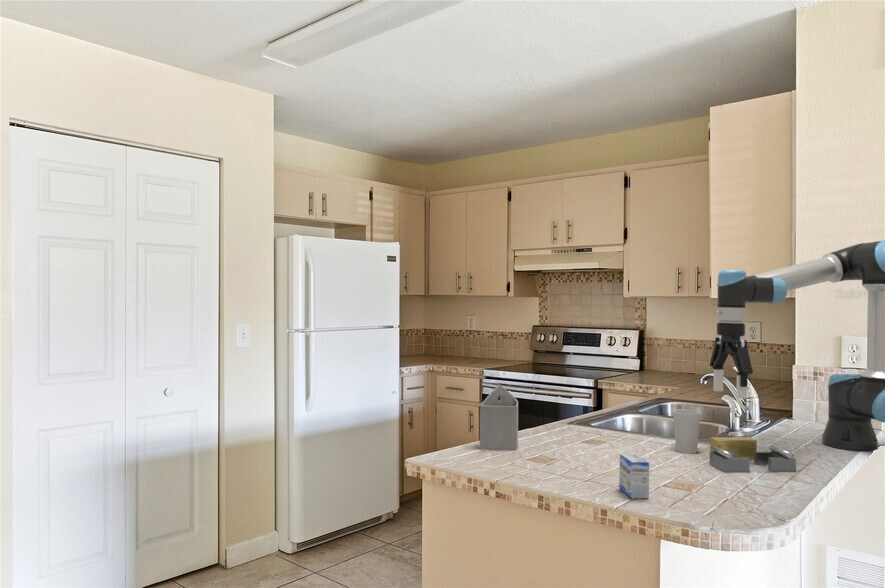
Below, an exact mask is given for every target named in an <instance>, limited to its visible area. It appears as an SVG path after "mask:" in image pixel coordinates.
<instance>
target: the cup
mask: <svg viewBox="0 0 885 588" xmlns="http://www.w3.org/2000/svg"><path fill="white" fill-rule="evenodd" d="M672 416H673V426H674V427H673V429H674V441H675V442H674V443H675V451H676V452H678V453H679V452H680V453H685V454H697V453H698V451H699V450H698V447H699V435H700V423H701V422H700V421H701V412H700V411H699V410H695V409H694V410H692V409H684V408H683V409H674V410H672Z"/></svg>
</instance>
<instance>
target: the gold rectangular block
mask: <svg viewBox="0 0 885 588" xmlns="http://www.w3.org/2000/svg"><path fill="white" fill-rule="evenodd" d="M757 445H758V441H757V439H755V438H752V437H750V436H736V437H735V436H732V437H731V436H727V437H726V436H725V437H723V436H721V437H719V436H716V437H715V436H714V437H711V436H710V438H709V452H714V451H712V447H713V446H716V447H719V448H721V449H723V450H725V451H734V452H736V458H748V459H750V461H754V451H758V446H757Z"/></svg>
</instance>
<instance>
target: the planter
mask: <svg viewBox="0 0 885 588" xmlns="http://www.w3.org/2000/svg"><path fill="white" fill-rule="evenodd" d="M518 447H519V401H518V399H517V398H516V397H515V396H514V395H513V394H512V393H511V392H509V391H508V389H506V388H505V387H504V386H502V385H501V384H498V385H497V386H496V387H495V388H494V389H493V390H492V391H491V392H490V393H489V395H487V397H486V398H485V399H484V400H483V401H482V402H481V403H480V406H479V450H482V451H484V450H485V451H486V450H487V451H517V450H518Z"/></svg>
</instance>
